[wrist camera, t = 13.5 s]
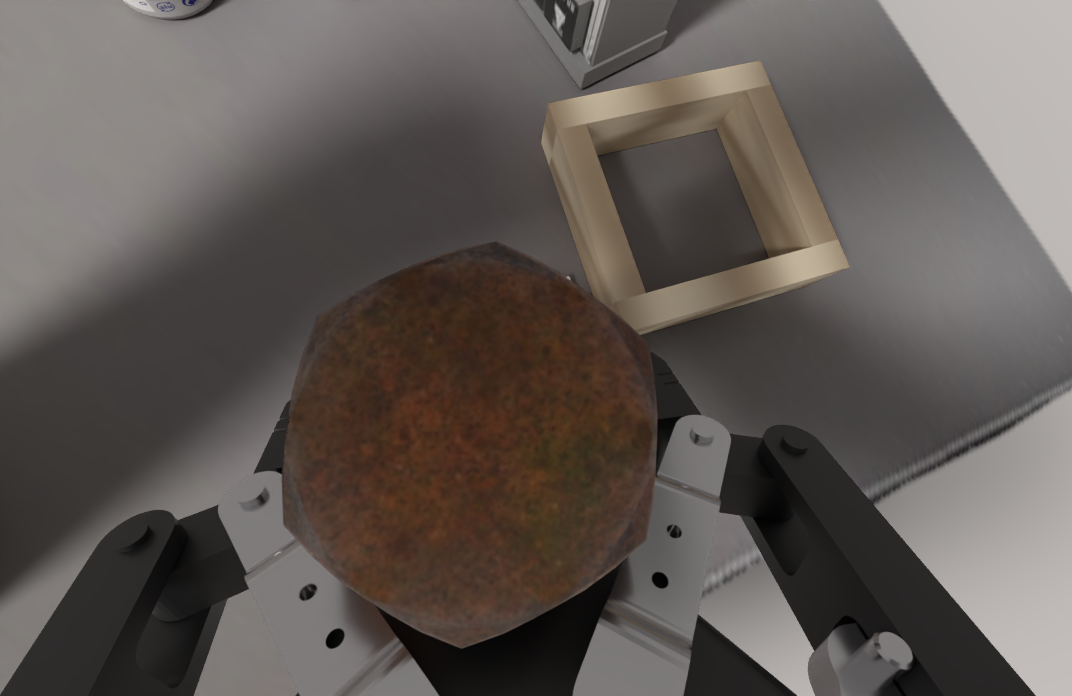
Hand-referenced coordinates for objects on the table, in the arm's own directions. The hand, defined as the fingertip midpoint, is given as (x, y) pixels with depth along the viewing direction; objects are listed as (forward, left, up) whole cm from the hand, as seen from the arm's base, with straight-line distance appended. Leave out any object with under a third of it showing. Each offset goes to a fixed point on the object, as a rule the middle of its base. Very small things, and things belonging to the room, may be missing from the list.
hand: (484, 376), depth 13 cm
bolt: (0, -2, -8) cm, 8 cm away
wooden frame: (+13, +7, -8) cm, 16 cm away
